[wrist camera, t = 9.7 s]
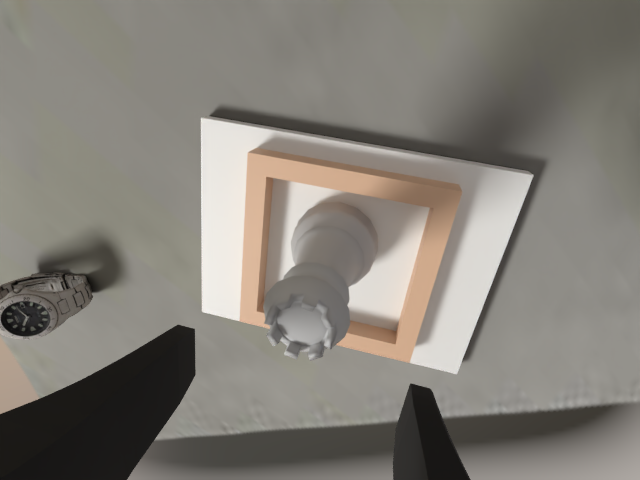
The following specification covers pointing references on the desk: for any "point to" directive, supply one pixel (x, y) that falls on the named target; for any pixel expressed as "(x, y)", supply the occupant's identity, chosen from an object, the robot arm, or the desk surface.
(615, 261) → the desk surface
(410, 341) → the socket holder
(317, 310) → the rook chess piece
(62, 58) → the desk surface
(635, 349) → the desk surface
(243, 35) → the desk surface
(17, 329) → the wristwatch
